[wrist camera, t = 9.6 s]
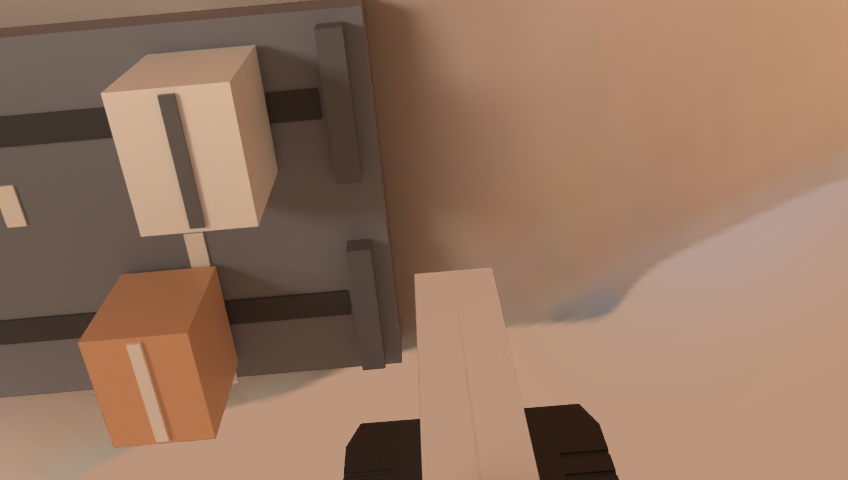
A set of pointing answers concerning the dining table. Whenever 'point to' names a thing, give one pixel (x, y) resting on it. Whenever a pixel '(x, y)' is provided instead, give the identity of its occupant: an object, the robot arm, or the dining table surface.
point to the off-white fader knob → (193, 140)
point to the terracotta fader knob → (161, 357)
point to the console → (226, 249)
